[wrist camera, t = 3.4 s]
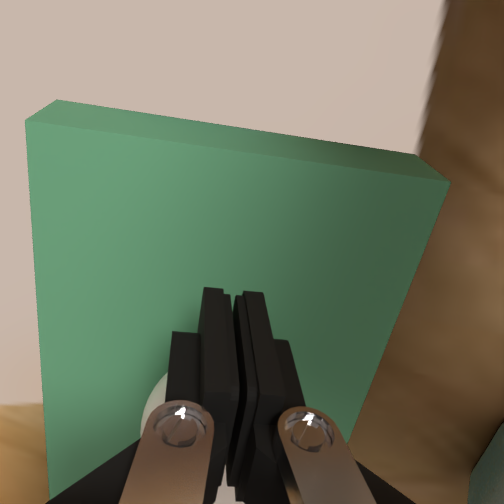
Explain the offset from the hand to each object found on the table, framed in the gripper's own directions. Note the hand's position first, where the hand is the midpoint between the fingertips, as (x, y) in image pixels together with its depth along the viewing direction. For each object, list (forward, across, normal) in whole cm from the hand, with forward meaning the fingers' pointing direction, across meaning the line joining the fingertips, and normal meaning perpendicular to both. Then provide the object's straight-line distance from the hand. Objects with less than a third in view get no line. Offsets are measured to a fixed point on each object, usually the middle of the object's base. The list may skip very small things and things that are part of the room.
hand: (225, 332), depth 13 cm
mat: (+6, 0, +10) cm, 12 cm away
